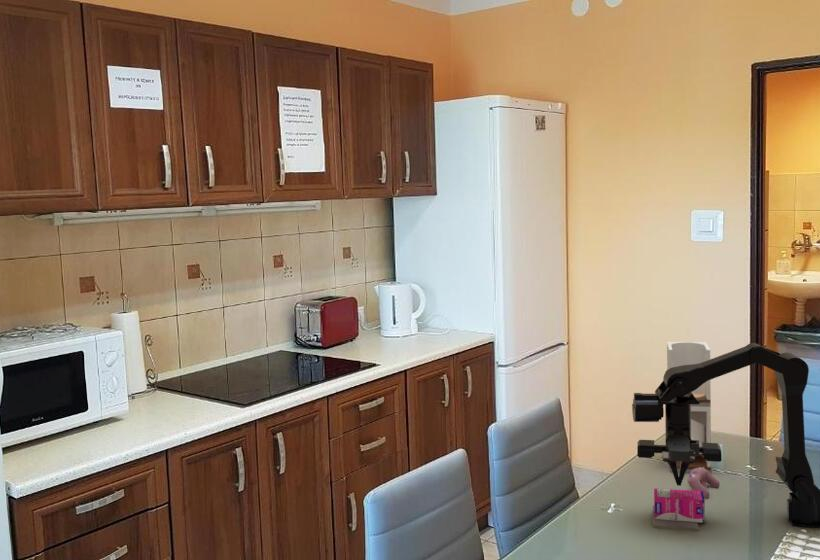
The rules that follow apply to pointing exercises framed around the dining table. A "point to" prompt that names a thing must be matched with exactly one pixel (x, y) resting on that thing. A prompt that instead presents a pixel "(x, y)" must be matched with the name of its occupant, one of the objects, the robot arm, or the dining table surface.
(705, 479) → the video game controller
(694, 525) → the rubber mat
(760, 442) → the dining table surface
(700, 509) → the supplement box
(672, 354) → the display case
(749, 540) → the dining table surface
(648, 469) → the dining table surface
